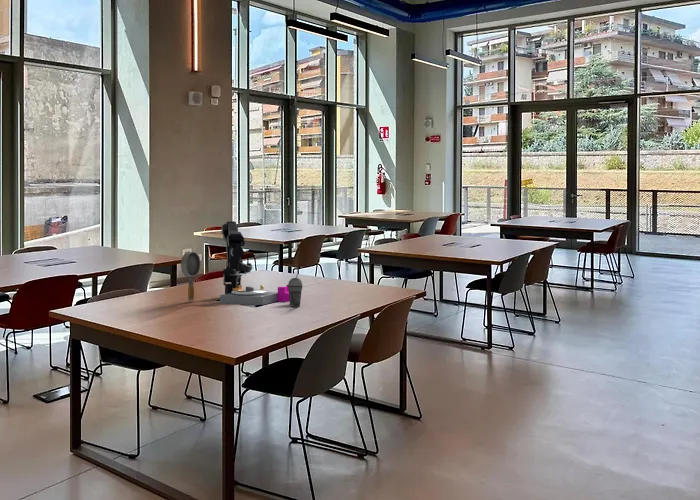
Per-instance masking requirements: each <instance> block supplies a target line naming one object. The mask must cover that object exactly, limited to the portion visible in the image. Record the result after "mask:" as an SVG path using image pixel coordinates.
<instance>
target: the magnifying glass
mask: <svg viewBox="0 0 700 500" xmlns="http://www.w3.org/2000/svg"><path fill="white" fill-rule="evenodd" d="M180 261H181V262H180V269H181V272H182V274H183V276H185V277H187V278H188V287H187V289H188V290H187V296H188V297H187V299H188V301H189V302H190V301H191V302H193V301H195V299H194V298H195V288H194V280H193V279H194V277H196V276H197V275H198V274H199V273H200V269H201V259H200V256H199V254H198V253H197V252H196V251H186V252H185V253H184V254H183V255H182V256H181V260H180Z"/></svg>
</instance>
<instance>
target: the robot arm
mask: <svg viewBox="0 0 700 500" xmlns="http://www.w3.org/2000/svg"><path fill="white" fill-rule="evenodd" d="M221 235H222V238H223V240H224V241H225V245H226V264H227V266H226V267H225V268H224V269H223V270H222V275H223V279H222V285H223V286H224V294H229V293H232V291H233V288H234V289H236V286H237V285H242V284H241V283H242V276H243V275H247V273H248V274H249V273H251V271H252V270H253V266H252V263H251V262H247V263H244V261H243V260H242V257H243V256H244V253H245V252H244V249H243V247H245V244H246V243H245V242H246V241H245V237H244V236H243V233H242V232H241V231H239V226H238V224H237V222H236V221H234V220H233V221H232V220H231V221H230V220H229V221H228V220H227V221H226V222H225V223H224V224H222V226H221Z"/></svg>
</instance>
